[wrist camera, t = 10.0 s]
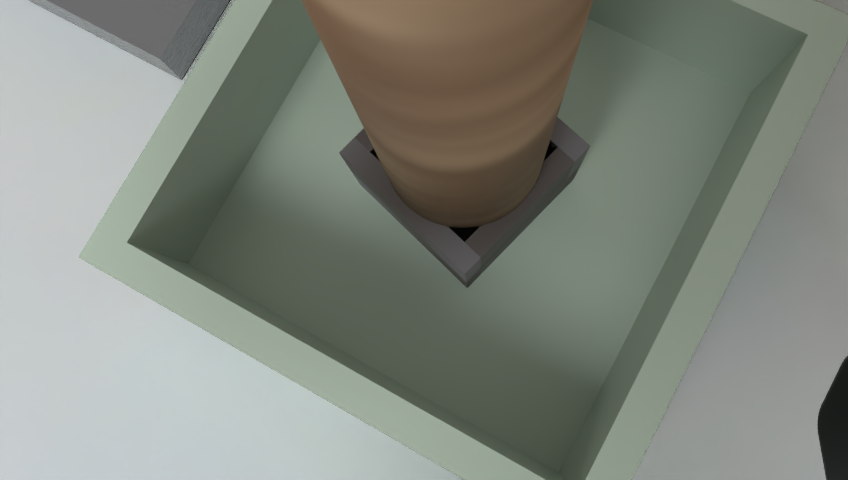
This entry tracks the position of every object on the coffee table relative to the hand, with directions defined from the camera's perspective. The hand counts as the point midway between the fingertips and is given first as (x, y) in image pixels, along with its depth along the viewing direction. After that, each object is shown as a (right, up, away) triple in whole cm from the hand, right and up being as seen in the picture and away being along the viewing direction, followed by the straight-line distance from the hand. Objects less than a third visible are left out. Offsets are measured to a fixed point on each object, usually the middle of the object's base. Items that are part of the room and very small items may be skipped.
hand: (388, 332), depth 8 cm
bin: (+2, +2, +13) cm, 13 cm away
